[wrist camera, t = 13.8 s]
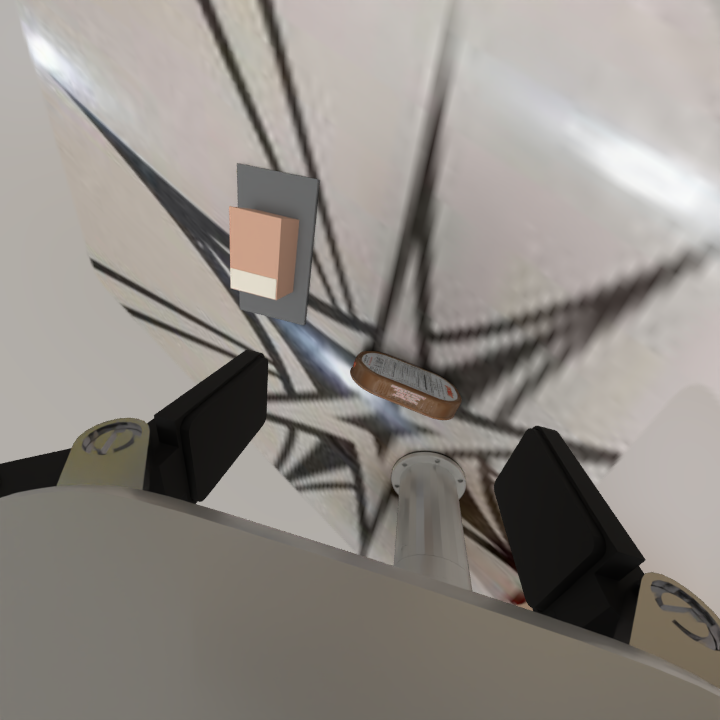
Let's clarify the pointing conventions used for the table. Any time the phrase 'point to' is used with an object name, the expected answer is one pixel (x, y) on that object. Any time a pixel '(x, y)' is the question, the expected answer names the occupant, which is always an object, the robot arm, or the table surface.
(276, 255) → the block
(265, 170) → the mat
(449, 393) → the tin
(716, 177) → the table surface
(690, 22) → the table surface
